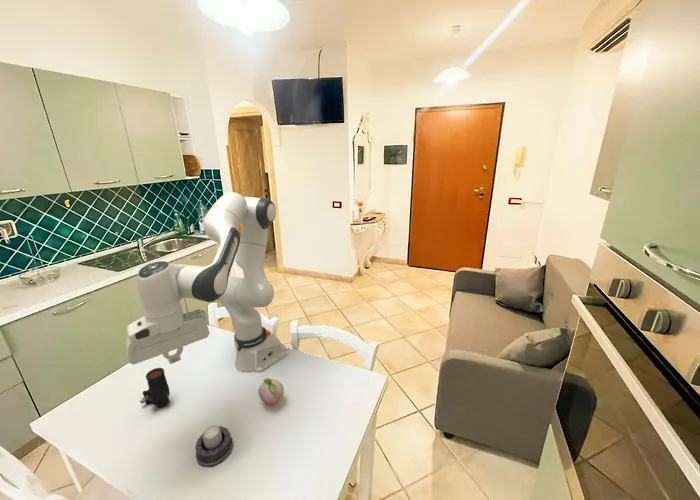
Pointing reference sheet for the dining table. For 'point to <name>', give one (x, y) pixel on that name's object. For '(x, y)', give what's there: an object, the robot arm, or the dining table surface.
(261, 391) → the decorative fruit
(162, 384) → the scope
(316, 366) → the dining table surface
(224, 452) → the faceted grey ring
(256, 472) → the dining table surface
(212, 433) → the grey cylinder
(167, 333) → the robot arm
